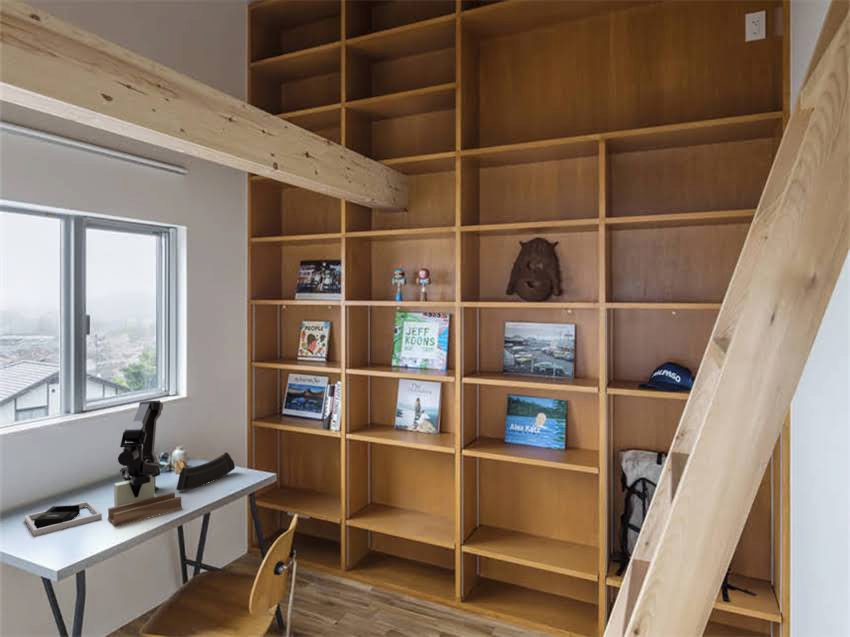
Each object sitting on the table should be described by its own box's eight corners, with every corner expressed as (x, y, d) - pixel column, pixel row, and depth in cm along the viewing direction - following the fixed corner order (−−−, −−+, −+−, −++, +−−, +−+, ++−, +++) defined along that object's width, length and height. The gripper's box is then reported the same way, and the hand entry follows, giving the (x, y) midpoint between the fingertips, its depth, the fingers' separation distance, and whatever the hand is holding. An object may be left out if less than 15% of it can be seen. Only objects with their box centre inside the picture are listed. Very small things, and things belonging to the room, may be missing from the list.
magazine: (176, 475, 225) (228, 439, 250) (171, 473, 226) (223, 438, 251) (186, 508, 230) (236, 470, 255) (181, 507, 231) (231, 469, 256)
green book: (114, 508, 210) (114, 483, 210) (151, 498, 220) (151, 475, 220) (117, 510, 208) (116, 485, 207) (154, 501, 218) (154, 477, 217)
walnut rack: (107, 519, 199) (107, 508, 199) (173, 502, 217) (173, 492, 217) (115, 526, 193) (115, 514, 193) (181, 508, 210) (181, 497, 210)
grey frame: (24, 520, 198) (24, 515, 197) (88, 505, 213) (88, 500, 213) (34, 536, 185) (34, 530, 185) (101, 518, 200) (101, 513, 200)
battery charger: (62, 529, 192) (62, 518, 192) (33, 530, 190) (33, 519, 190) (79, 514, 205) (79, 504, 205) (52, 516, 203) (52, 506, 203)
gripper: (163, 459, 213) (164, 496, 213) (147, 449, 226) (148, 485, 226) (133, 465, 205) (134, 504, 205) (119, 455, 218) (119, 491, 218)
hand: (134, 495), depth 214 cm, fingers closed on green book, 3 cm apart
